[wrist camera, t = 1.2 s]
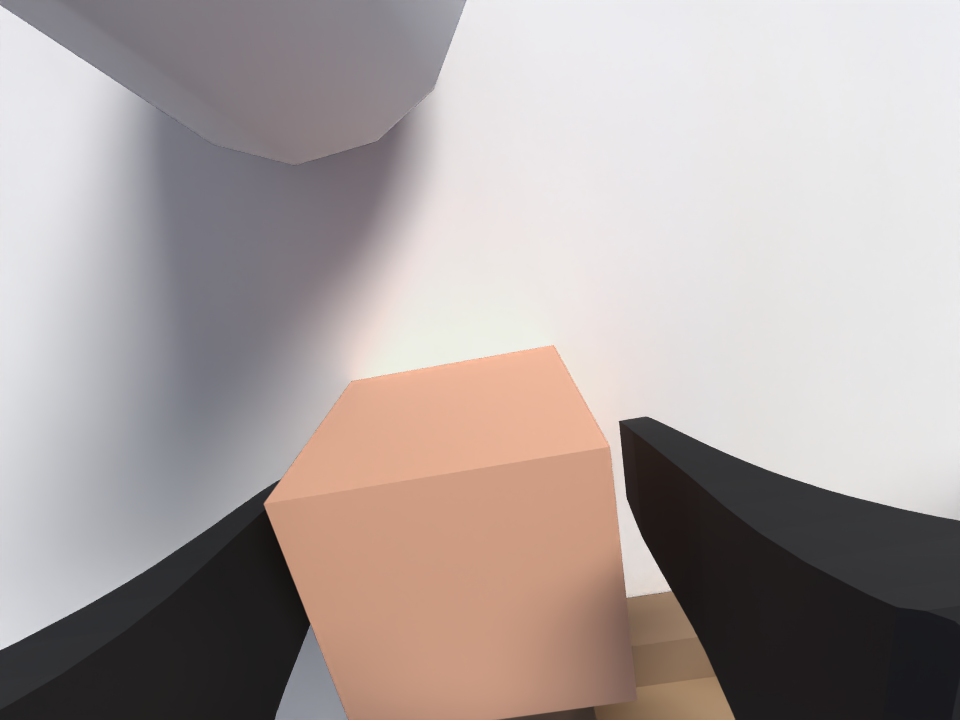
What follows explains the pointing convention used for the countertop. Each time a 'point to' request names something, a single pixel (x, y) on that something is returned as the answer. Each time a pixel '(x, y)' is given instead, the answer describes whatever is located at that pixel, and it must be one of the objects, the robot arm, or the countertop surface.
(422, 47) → the salt shaker
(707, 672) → the base
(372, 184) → the countertop surface
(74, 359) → the countertop surface
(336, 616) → the cube
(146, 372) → the countertop surface
